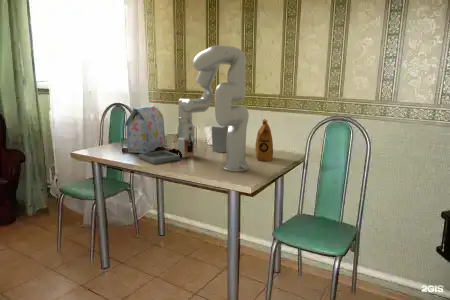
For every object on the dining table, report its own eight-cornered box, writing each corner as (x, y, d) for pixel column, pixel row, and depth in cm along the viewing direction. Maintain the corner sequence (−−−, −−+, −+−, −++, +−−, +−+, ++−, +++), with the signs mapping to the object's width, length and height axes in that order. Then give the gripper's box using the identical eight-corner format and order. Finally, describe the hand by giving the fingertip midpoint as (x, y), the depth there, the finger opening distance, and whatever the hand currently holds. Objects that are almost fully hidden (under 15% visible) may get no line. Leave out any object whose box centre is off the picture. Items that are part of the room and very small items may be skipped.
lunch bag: (143, 145, 232) (142, 104, 226) (167, 147, 226) (166, 105, 221) (123, 152, 211) (121, 107, 205) (148, 154, 205) (147, 108, 200)
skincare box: (228, 151, 219) (229, 125, 216) (222, 153, 213) (223, 127, 210) (217, 149, 223) (217, 124, 220) (210, 151, 217) (211, 125, 214)
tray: (179, 159, 195) (179, 155, 194) (153, 164, 184) (153, 159, 184) (164, 154, 206) (164, 150, 206) (139, 158, 196) (138, 153, 196)
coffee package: (254, 161, 195) (255, 121, 191) (255, 156, 207) (257, 118, 203) (272, 162, 194) (274, 121, 189) (272, 157, 206) (274, 119, 201)
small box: (184, 158, 199) (184, 139, 197) (177, 156, 203) (176, 138, 201) (193, 155, 206) (193, 137, 204) (186, 154, 209) (186, 136, 207)
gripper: (200, 121, 196) (199, 152, 200) (182, 118, 209) (182, 147, 212) (188, 122, 191) (188, 154, 195) (171, 119, 204) (171, 149, 208)
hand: (185, 150), depth 204 cm, fingers open, 8 cm apart
